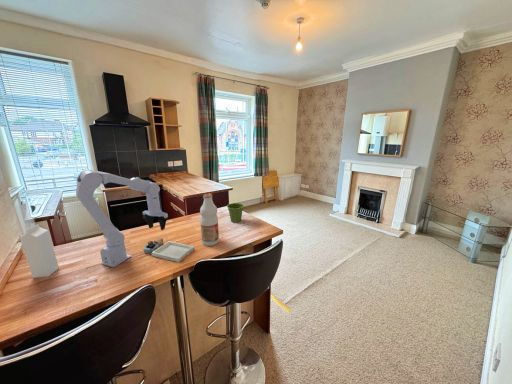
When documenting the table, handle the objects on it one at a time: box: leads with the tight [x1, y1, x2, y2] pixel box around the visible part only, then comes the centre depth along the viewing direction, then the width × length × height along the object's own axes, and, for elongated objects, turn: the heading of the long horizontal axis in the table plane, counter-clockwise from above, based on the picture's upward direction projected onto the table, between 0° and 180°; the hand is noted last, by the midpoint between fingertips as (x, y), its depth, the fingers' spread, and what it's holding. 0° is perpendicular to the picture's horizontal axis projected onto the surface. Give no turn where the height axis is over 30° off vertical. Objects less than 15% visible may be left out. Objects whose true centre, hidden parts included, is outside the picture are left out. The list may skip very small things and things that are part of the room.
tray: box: [151, 240, 195, 263], centre depth 107 cm, size 12×16×2 cm
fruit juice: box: [199, 193, 220, 247], centre depth 114 cm, size 9×9×28 cm
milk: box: [19, 223, 60, 279], centre depth 88 cm, size 6×6×22 cm
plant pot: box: [226, 202, 245, 224], centre depth 145 cm, size 12×12×11 cm
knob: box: [147, 240, 154, 248], centre depth 109 cm, size 3×3×4 cm
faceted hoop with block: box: [143, 237, 164, 255], centre depth 111 cm, size 11×7×3 cm, turn 161°
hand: (157, 228), depth 113 cm, fingers open, 7 cm apart
